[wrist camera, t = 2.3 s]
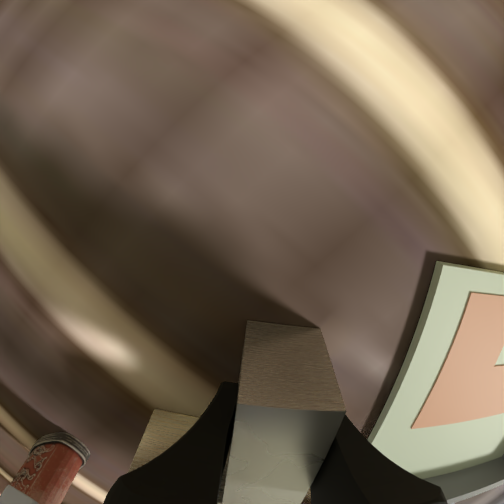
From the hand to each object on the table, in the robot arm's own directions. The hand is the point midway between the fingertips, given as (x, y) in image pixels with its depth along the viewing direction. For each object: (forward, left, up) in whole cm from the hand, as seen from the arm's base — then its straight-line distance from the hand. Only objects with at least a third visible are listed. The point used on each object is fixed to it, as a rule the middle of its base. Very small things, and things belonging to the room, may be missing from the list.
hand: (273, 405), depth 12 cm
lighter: (-11, +14, -2) cm, 18 cm away
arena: (-1, -14, -2) cm, 14 cm away
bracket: (-2, +2, -2) cm, 3 cm away
